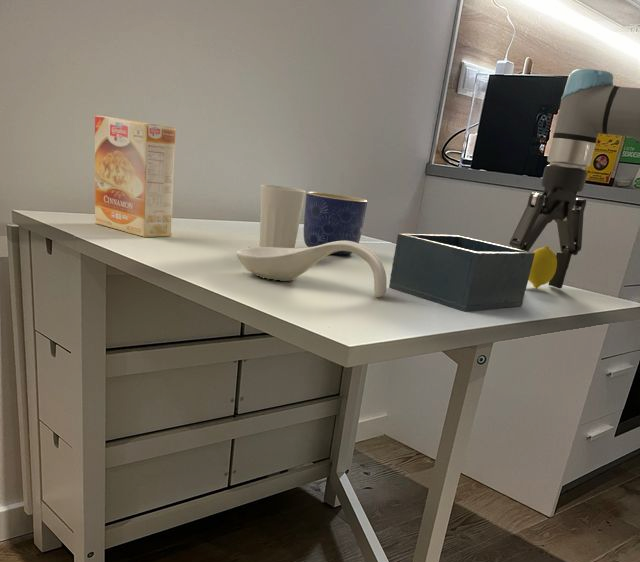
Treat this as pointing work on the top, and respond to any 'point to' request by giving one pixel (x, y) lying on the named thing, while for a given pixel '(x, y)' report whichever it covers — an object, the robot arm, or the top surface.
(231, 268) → the top surface
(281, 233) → the cup
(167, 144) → the coffeecake box
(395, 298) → the top surface
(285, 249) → the spoon rest
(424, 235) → the dark grey open box
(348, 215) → the planter
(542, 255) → the lemon
